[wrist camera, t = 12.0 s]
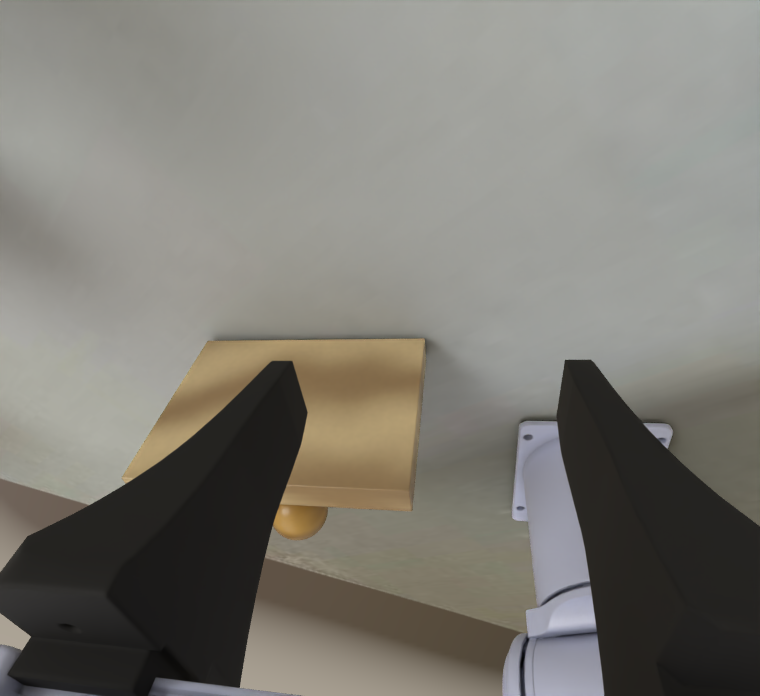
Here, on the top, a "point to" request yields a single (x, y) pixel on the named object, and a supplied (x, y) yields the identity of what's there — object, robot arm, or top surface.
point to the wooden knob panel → (316, 420)
